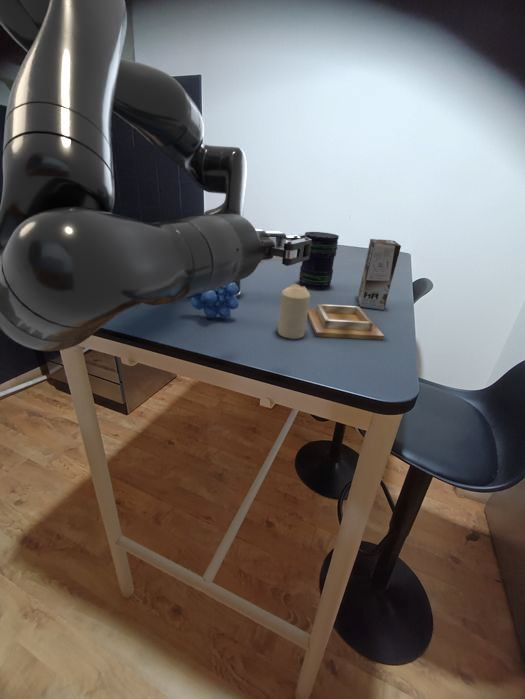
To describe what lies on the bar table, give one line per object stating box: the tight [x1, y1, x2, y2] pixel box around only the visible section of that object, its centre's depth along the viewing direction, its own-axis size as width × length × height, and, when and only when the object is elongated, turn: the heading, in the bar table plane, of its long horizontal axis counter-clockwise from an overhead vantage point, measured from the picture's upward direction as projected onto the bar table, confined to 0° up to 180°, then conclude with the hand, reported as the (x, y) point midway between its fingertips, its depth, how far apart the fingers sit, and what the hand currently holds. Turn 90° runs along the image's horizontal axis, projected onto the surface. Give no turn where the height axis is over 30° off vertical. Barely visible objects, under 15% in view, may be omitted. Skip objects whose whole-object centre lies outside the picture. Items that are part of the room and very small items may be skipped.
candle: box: [277, 283, 311, 340], centre depth 63 cm, size 6×6×10 cm
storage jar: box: [298, 231, 340, 291], centre depth 94 cm, size 10×10×15 cm
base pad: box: [307, 303, 385, 341], centre depth 70 cm, size 14×14×3 cm
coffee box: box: [357, 238, 402, 311], centre depth 82 cm, size 9×6×16 cm
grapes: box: [190, 282, 240, 319], centre depth 66 cm, size 12×7×12 cm, turn 86°
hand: (277, 238), depth 47 cm, fingers open, 8 cm apart
